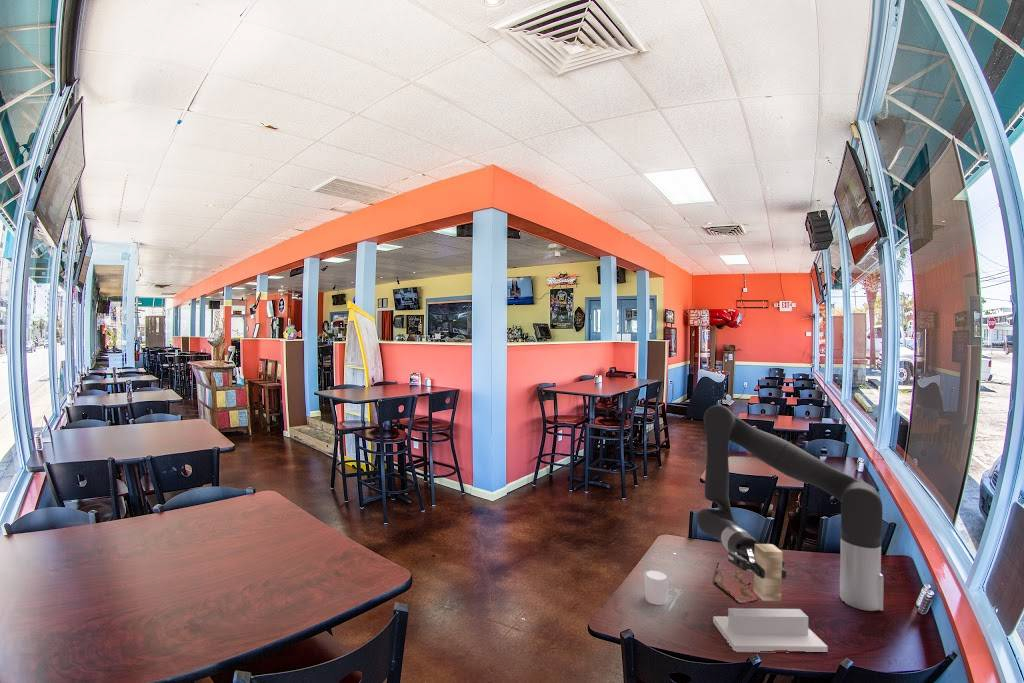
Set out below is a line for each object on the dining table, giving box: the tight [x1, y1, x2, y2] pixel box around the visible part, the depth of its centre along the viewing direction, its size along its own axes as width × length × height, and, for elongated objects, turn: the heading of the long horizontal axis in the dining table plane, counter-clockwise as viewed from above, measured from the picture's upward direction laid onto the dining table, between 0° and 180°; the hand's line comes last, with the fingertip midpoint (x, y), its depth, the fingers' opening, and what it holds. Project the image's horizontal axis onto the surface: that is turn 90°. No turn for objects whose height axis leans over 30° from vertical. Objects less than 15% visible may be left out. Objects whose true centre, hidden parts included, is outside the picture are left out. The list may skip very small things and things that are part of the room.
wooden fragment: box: [713, 568, 754, 603], centre depth 147 cm, size 26×11×1 cm, turn 167°
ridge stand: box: [712, 607, 829, 653], centre depth 120 cm, size 22×12×6 cm, turn 90°
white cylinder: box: [643, 569, 670, 606], centre depth 136 cm, size 7×7×7 cm
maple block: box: [753, 543, 784, 602], centre depth 120 cm, size 4×4×12 cm
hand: (773, 574), depth 117 cm, fingers closed on maple block, 4 cm apart
